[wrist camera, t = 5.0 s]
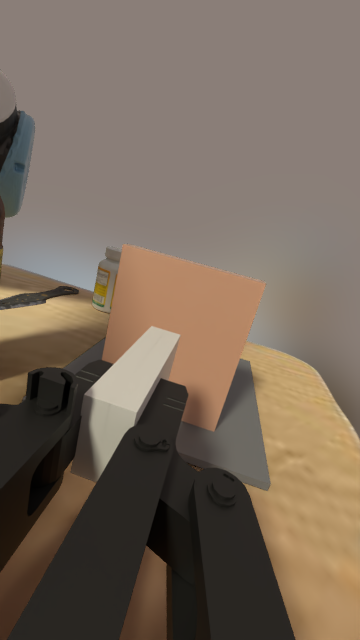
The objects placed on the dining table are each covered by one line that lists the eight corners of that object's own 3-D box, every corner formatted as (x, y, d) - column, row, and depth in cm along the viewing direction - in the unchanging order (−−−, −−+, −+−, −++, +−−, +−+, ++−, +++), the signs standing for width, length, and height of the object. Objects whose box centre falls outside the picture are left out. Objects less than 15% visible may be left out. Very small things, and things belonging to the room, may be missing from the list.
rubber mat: (267, 490, 18) (270, 484, 18) (22, 404, 20) (22, 397, 20) (248, 365, 37) (249, 361, 37) (123, 327, 39) (124, 323, 39)
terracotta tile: (214, 431, 22) (266, 283, 18) (95, 391, 22) (122, 244, 19) (215, 418, 23) (263, 280, 20) (104, 382, 24) (131, 244, 21)
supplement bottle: (88, 309, 42) (98, 246, 39) (95, 300, 47) (105, 244, 44) (123, 317, 43) (135, 255, 40) (127, 307, 48) (138, 252, 45)
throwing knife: (84, 294, 50) (84, 291, 49) (-18, 321, 31) (-18, 316, 31) (63, 287, 50) (63, 284, 50) (-50, 309, 32) (-50, 304, 31)
